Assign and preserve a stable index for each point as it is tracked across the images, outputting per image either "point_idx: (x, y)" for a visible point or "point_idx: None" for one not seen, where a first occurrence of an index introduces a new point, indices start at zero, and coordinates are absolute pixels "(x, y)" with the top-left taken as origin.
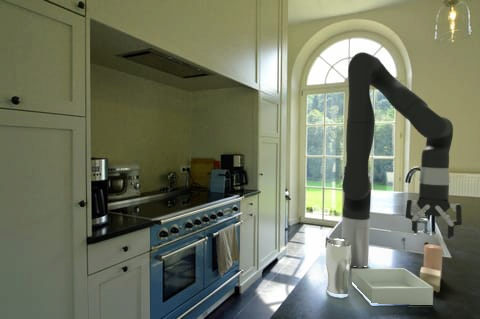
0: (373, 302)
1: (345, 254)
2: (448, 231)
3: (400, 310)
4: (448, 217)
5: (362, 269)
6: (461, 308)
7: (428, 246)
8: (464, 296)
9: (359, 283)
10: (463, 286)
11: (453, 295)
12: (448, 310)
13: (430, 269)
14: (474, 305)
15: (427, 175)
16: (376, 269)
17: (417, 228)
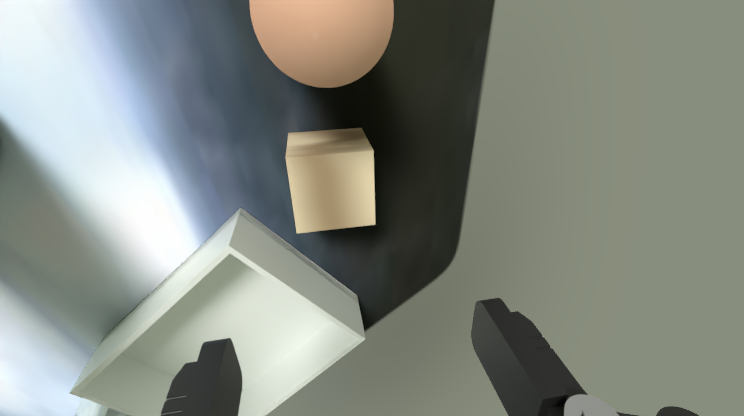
0: None
1: None
2: (503, 394)
3: None
4: None
5: (102, 369)
6: (426, 256)
7: (288, 34)
8: (440, 162)
9: (151, 393)
10: (446, 52)
11: (407, 181)
12: (395, 290)
13: (329, 167)
14: (461, 211)
15: None
16: (142, 331)
17: (223, 375)
